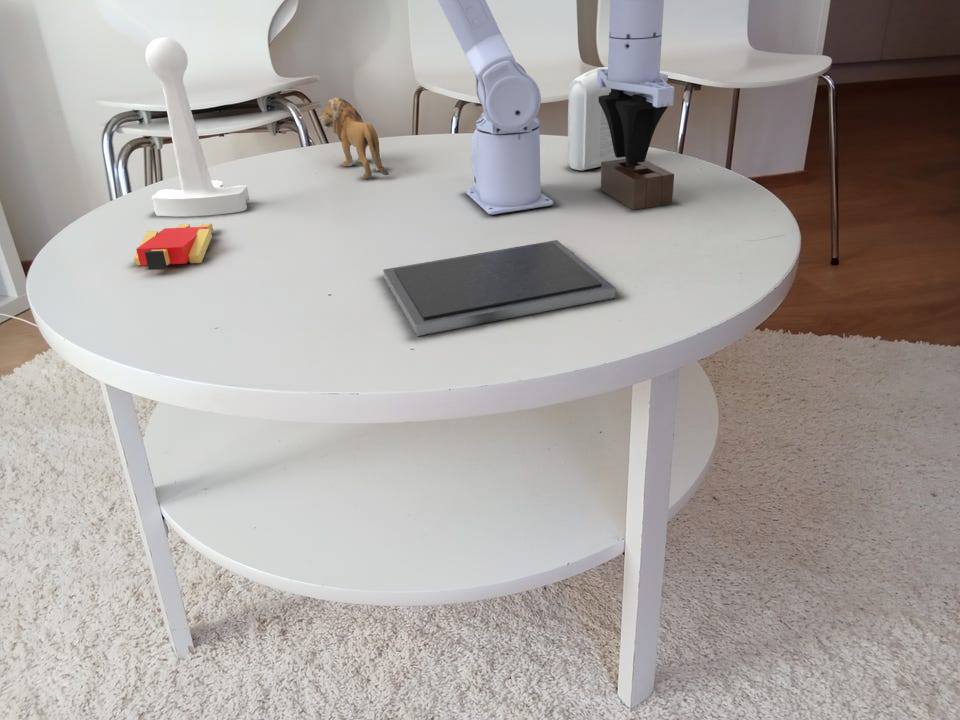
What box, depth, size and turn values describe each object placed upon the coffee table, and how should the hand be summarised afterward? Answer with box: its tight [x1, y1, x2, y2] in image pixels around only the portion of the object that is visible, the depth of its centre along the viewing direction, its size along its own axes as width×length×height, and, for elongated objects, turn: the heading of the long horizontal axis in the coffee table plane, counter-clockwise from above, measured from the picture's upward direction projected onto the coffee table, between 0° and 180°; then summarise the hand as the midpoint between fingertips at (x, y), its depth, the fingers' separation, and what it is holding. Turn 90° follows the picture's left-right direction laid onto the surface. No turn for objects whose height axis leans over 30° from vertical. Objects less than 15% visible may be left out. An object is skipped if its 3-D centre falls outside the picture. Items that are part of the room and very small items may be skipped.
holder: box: [600, 159, 675, 211], centre depth 91 cm, size 5×8×4 cm, turn 18°
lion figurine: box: [318, 97, 390, 180], centre depth 107 cm, size 15×5×9 cm, turn 37°
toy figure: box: [133, 222, 214, 270], centre depth 83 cm, size 2×7×12 cm
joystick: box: [144, 36, 251, 218], centre depth 93 cm, size 11×8×20 cm
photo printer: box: [567, 66, 626, 171], centre depth 102 cm, size 10×4×12 cm, turn 123°
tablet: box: [382, 239, 616, 337], centre depth 71 cm, size 13×18×1 cm
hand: (629, 159), depth 92 cm, fingers closed
